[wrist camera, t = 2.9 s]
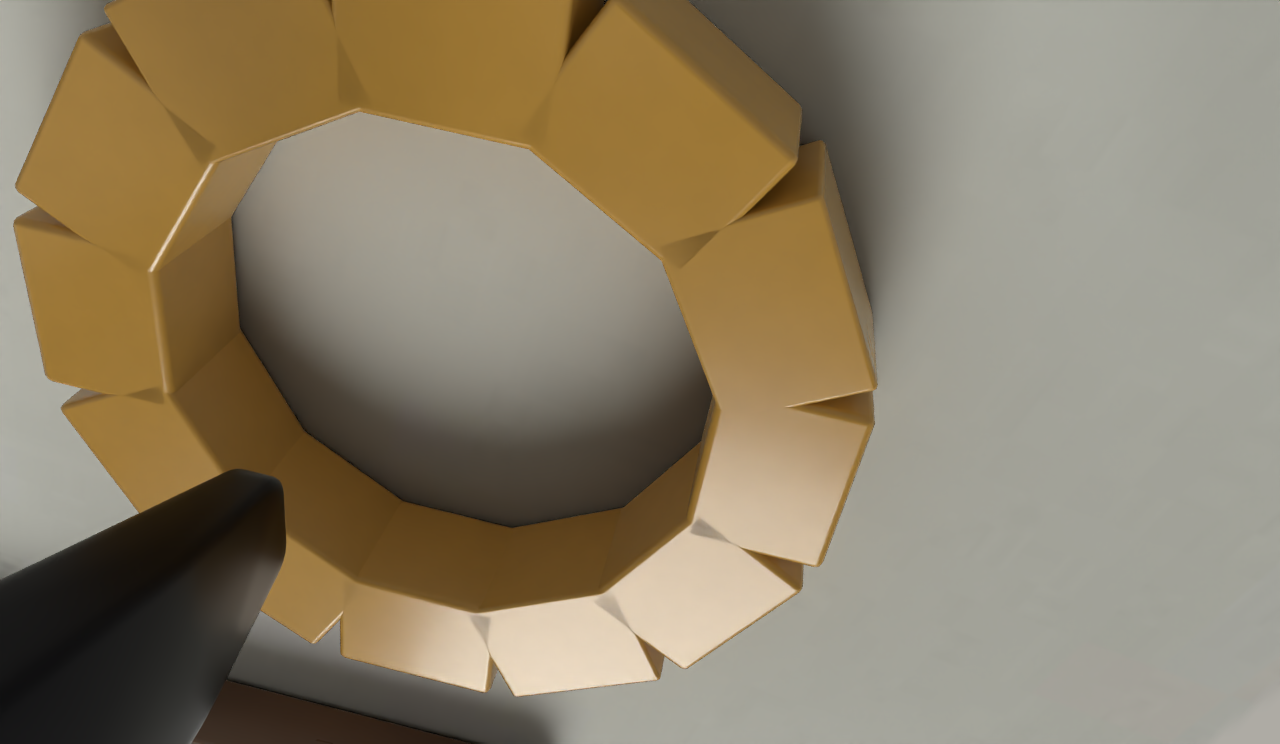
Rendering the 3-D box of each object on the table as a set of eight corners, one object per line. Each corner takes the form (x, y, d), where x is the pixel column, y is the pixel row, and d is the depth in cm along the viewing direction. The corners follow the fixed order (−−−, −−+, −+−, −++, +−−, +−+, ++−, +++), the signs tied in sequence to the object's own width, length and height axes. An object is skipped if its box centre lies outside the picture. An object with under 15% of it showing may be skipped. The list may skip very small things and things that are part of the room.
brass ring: (985, 19, 9) (1012, 62, 8) (757, 669, 14) (749, 763, 13) (53, -176, 9) (-77, -168, 8) (158, 518, 14) (89, 594, 13)
